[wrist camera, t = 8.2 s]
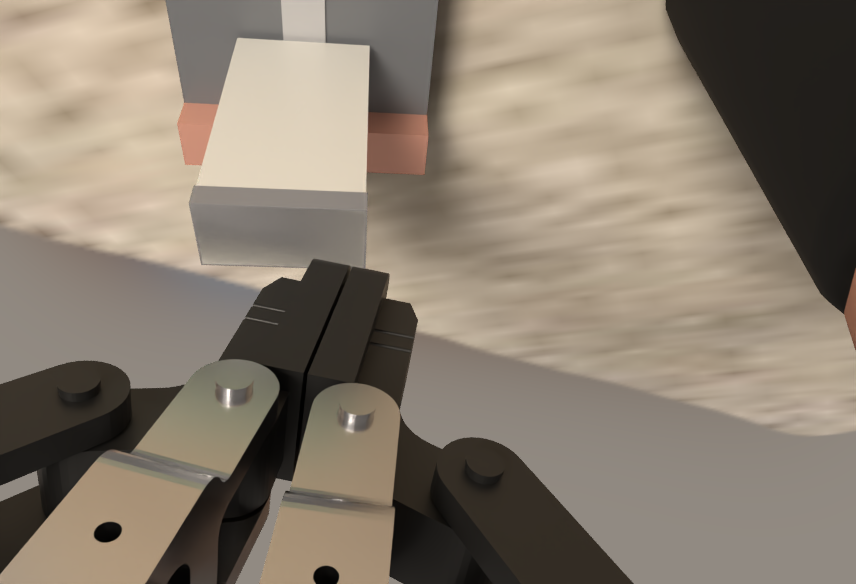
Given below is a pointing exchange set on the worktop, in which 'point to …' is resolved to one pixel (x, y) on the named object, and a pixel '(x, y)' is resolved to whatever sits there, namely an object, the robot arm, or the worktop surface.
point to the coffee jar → (789, 117)
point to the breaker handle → (286, 158)
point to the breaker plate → (323, 23)
